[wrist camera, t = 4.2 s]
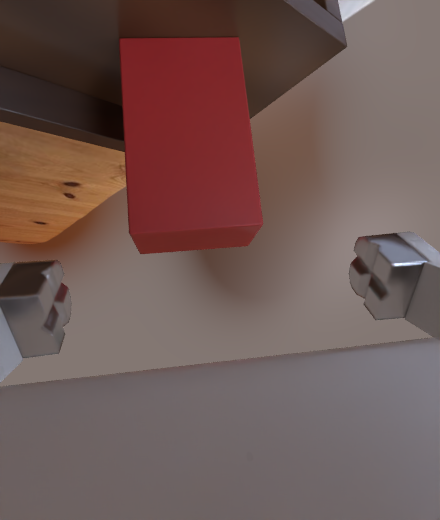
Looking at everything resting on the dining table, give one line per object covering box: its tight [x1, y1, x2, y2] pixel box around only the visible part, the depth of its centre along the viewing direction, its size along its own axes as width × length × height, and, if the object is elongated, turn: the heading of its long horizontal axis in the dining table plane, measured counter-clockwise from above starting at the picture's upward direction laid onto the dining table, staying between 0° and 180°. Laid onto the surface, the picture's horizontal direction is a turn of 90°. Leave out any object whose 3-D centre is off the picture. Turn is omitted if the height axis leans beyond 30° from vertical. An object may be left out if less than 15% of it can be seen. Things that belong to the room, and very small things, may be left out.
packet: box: [119, 37, 263, 254], centre depth 19 cm, size 4×6×10 cm, turn 85°
